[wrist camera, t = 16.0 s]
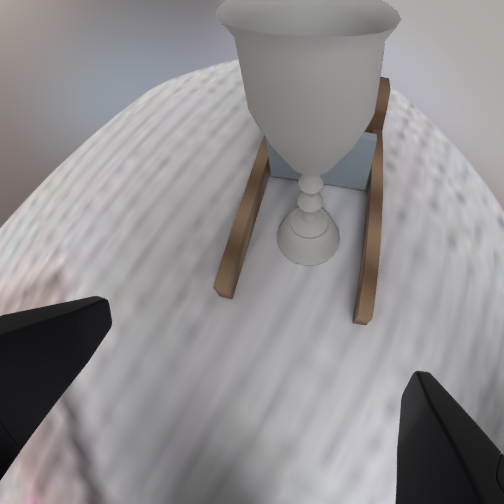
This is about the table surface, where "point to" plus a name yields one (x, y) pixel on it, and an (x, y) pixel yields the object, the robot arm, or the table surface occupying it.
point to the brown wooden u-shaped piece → (373, 223)
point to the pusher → (343, 173)
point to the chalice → (310, 94)
